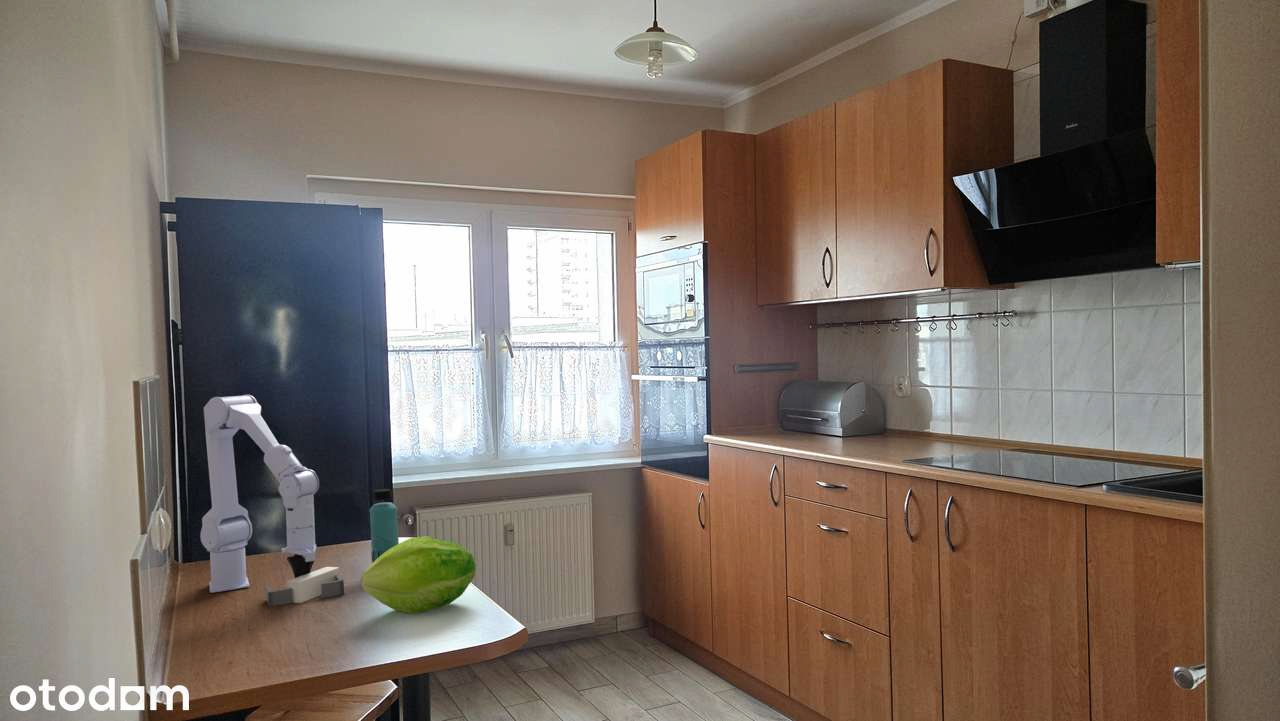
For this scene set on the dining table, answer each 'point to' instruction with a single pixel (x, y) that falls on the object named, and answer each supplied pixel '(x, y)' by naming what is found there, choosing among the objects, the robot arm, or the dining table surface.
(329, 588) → the end cap
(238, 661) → the dining table surface
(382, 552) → the beverage bottle
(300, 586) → the cream rectangular block
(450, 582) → the green papaya
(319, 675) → the dining table surface
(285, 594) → the end cap
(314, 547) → the robot arm
